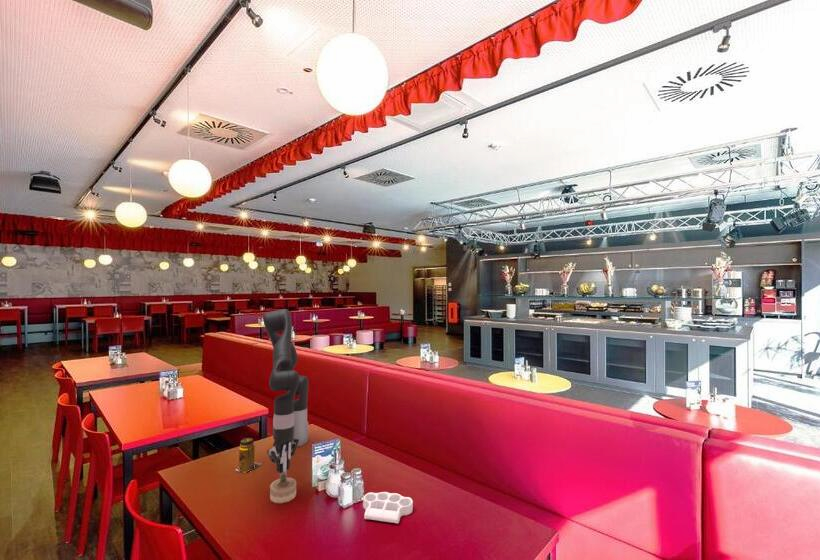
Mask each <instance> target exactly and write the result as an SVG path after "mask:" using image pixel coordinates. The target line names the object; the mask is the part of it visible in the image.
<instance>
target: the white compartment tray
mask: <svg viewBox="0 0 820 560" xmlns="http://www.w3.org/2000/svg"><path fill="white" fill-rule="evenodd" d="M362 500H363V501H362V506H363V509H364V510H365V512H364V517H363V518H364V520H373V521H379V522H385V523H394V524H399V523H400V520H401V518H402V516H408V515H410V514H412V513H413V511H414V510H413V509H414V508H413V506H414V505H413V504H414V500H413V499H412V498H411V497H409V496H403V495H401V494H399V493H396V492H392V493H391V492H388V491H381V492H373V491H372V492H371V491H370V492H368V493H366V494H364V496H363V499H362Z"/></svg>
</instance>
